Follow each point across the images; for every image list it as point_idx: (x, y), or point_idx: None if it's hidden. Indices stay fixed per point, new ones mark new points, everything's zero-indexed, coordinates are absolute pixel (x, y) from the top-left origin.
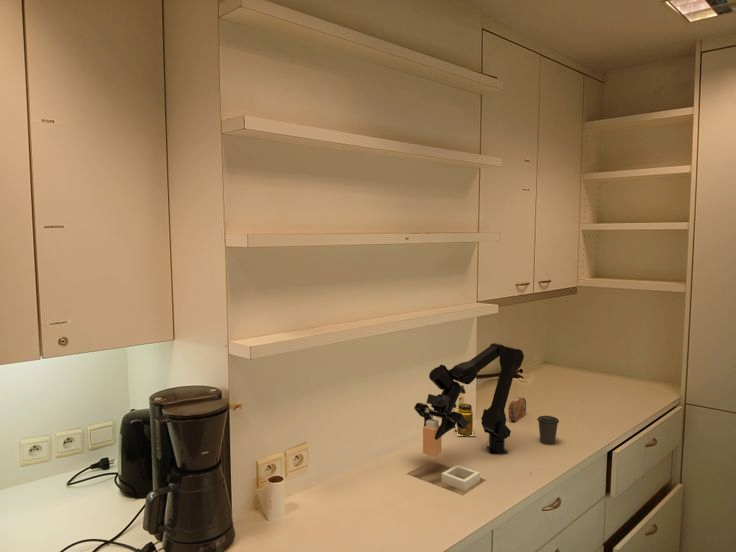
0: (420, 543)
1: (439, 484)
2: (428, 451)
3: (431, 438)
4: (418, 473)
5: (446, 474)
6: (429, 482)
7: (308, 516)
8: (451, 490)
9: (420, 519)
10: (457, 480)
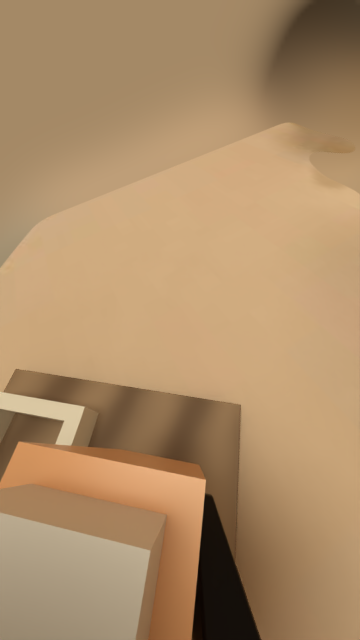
0: (80, 207)
1: (101, 395)
2: (154, 456)
3: (101, 451)
4: (204, 435)
5: (63, 409)
6: (137, 389)
7: (278, 177)
8: (54, 377)
9: (103, 251)
10: (18, 395)
